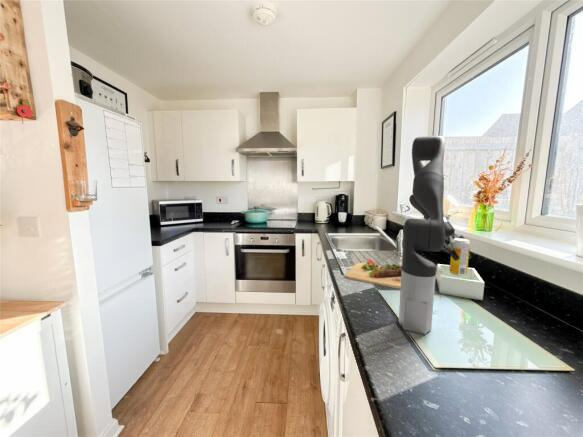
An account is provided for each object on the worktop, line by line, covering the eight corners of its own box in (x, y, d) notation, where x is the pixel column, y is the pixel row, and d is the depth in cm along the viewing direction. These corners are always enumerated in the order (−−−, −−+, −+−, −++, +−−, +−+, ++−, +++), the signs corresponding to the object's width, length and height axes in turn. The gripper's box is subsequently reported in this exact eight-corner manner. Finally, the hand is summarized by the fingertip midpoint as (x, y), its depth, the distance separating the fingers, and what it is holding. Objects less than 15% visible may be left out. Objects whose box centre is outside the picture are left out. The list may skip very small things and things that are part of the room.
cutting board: (343, 279, 115) (344, 264, 114) (356, 265, 135) (357, 252, 134) (428, 296, 98) (430, 278, 97) (429, 277, 118) (430, 262, 117)
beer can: (459, 271, 106) (463, 238, 104) (470, 276, 100) (474, 241, 98) (446, 271, 106) (449, 238, 104) (455, 277, 100) (459, 241, 98)
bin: (482, 300, 93) (484, 282, 92) (439, 293, 99) (441, 276, 98) (472, 283, 108) (474, 268, 108) (436, 278, 115) (437, 263, 114)
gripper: (433, 221, 105) (457, 256, 95) (458, 220, 109) (483, 252, 100) (422, 231, 111) (443, 264, 101) (446, 229, 115) (469, 261, 105)
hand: (463, 258), depth 100 cm, fingers closed on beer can, 6 cm apart
